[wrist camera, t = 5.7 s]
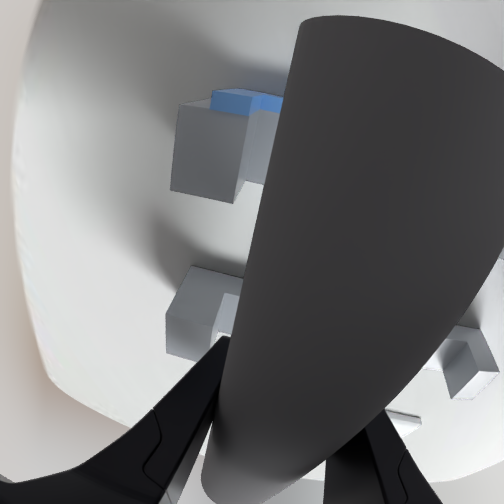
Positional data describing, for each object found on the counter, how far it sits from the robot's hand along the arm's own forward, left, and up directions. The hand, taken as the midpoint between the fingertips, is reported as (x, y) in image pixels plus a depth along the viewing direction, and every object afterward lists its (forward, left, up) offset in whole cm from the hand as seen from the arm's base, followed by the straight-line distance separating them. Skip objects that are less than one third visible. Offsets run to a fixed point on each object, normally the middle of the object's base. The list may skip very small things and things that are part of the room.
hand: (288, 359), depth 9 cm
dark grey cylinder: (0, 0, 0) cm, 0 cm away
